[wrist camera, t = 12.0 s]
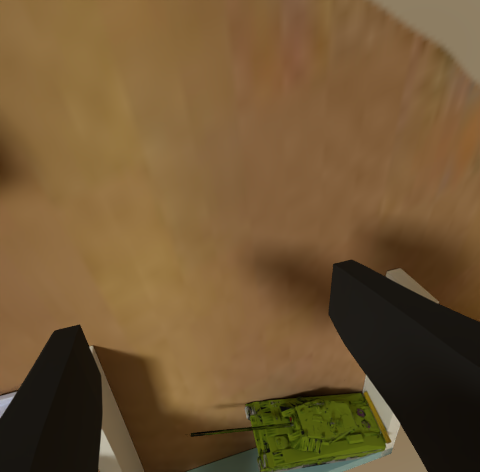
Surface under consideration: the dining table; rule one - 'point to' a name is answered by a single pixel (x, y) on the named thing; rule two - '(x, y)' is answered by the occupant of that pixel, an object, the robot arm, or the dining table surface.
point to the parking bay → (245, 464)
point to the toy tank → (313, 431)
